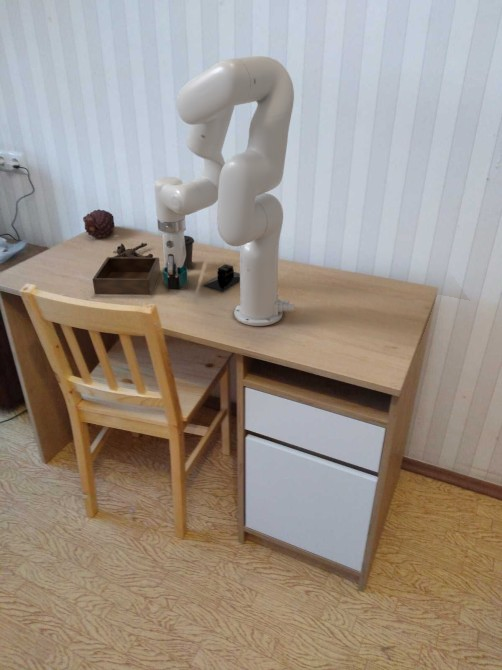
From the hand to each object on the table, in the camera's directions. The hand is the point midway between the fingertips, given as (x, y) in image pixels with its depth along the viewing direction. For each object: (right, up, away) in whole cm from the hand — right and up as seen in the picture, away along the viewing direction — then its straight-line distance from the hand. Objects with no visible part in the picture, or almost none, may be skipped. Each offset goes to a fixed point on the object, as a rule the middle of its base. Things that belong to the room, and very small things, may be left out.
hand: (176, 282), depth 155 cm
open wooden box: (-14, 0, +1) cm, 14 cm away
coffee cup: (+1, +5, +11) cm, 12 cm away
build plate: (+14, +1, +3) cm, 15 cm away
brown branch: (-16, +9, +17) cm, 25 cm away
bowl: (0, -1, 0) cm, 1 cm away
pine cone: (-31, +20, +36) cm, 52 cm away
